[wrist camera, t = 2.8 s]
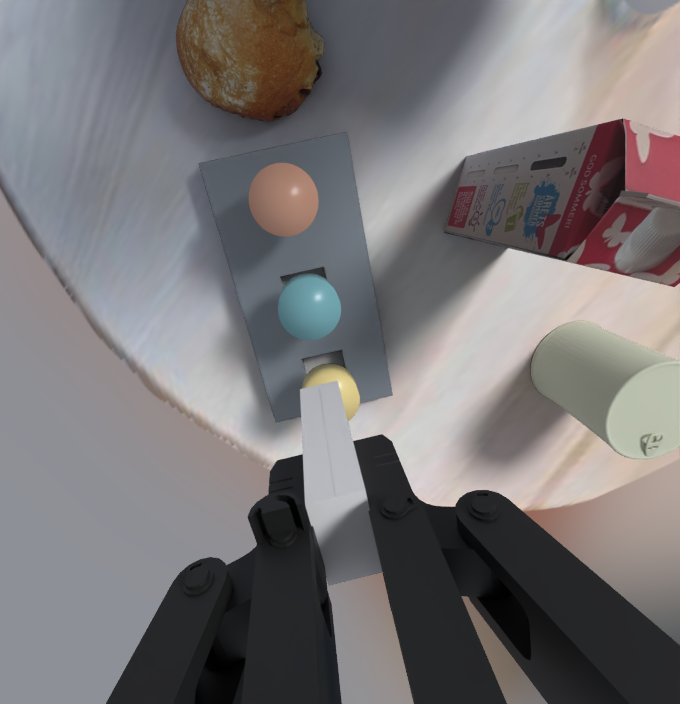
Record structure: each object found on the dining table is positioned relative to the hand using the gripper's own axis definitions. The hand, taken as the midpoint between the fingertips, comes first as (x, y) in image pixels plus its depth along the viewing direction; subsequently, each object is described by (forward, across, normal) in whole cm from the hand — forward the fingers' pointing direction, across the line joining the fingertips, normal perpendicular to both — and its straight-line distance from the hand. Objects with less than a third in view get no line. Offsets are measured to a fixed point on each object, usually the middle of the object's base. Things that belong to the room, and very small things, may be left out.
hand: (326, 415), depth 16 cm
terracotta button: (+21, 0, +8) cm, 22 cm away
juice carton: (+24, +18, +4) cm, 31 cm away
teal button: (+21, 0, 0) cm, 21 cm away
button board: (+24, 0, 0) cm, 24 cm away
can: (+25, +26, -14) cm, 38 cm away
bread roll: (+25, 0, +19) cm, 31 cm away
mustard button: (+21, 0, -8) cm, 22 cm away
